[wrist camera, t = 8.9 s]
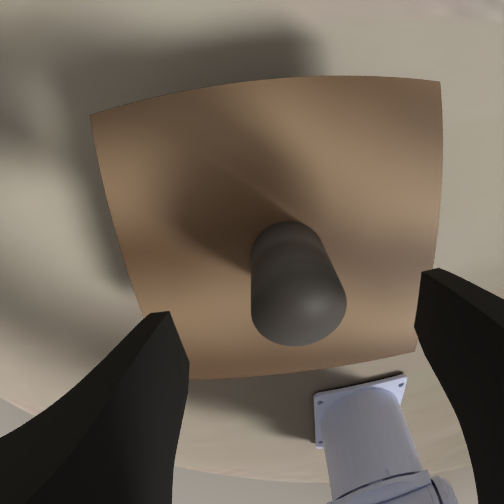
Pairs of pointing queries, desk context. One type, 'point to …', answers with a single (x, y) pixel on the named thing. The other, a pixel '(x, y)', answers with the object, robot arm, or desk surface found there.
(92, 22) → the desk surface
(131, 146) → the walnut lid
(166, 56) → the desk surface
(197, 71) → the desk surface
